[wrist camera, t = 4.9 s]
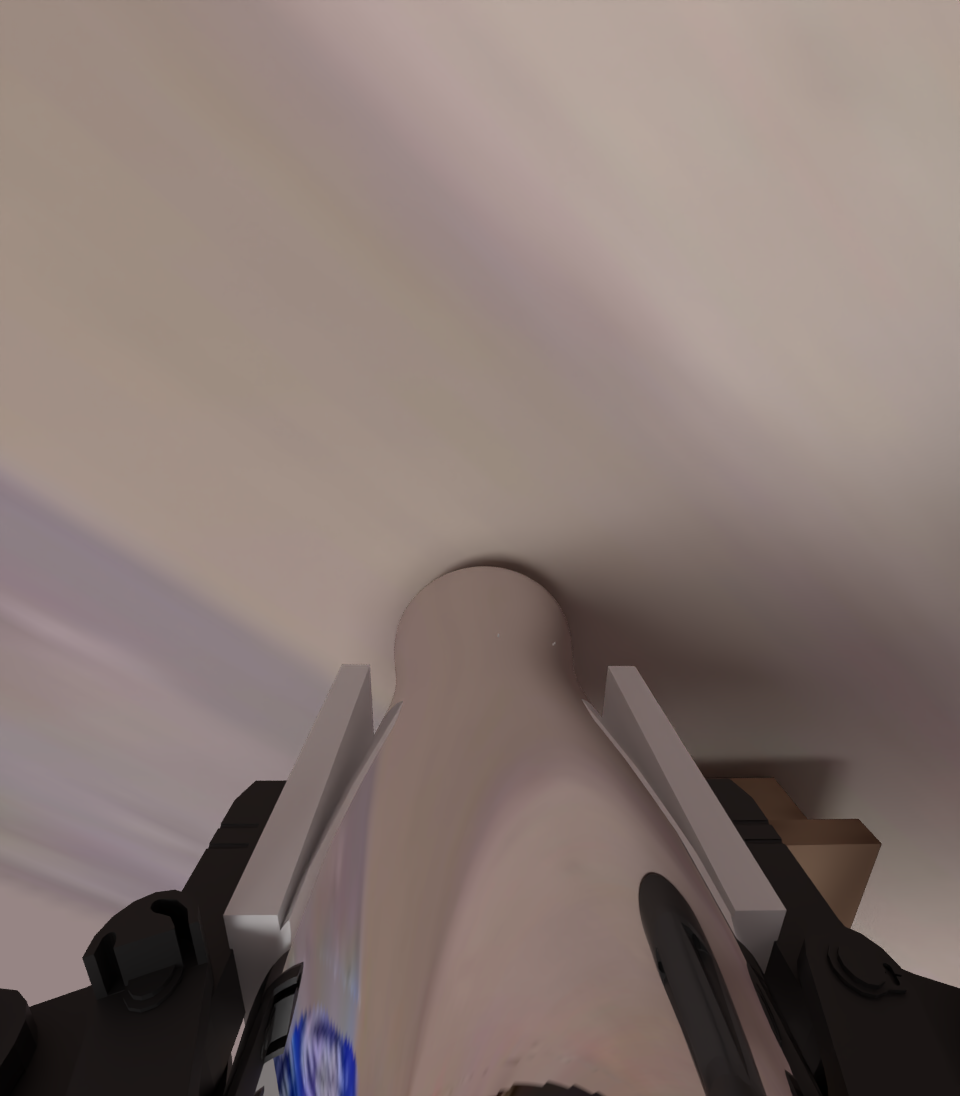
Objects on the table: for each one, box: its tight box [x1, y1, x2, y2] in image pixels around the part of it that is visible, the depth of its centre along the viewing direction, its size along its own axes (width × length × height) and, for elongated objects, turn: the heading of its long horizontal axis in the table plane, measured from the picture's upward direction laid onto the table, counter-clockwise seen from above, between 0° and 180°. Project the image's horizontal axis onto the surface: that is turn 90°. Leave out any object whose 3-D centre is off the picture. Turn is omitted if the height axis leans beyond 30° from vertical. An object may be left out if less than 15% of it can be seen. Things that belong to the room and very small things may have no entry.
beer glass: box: [223, 566, 823, 1096], centre depth 9 cm, size 7×7×15 cm
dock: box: [705, 778, 881, 929], centre depth 20 cm, size 14×14×4 cm
